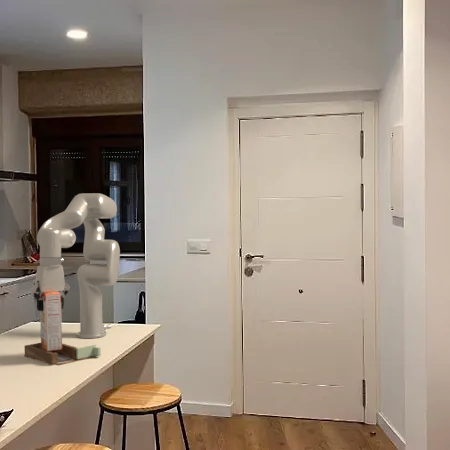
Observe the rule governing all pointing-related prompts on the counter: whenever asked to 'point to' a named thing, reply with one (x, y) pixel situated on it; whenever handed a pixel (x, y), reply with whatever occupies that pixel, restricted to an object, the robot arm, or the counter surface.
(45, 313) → the cracker box
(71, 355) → the box
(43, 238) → the robot arm
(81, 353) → the pale green l-shaped block
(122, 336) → the counter surface
